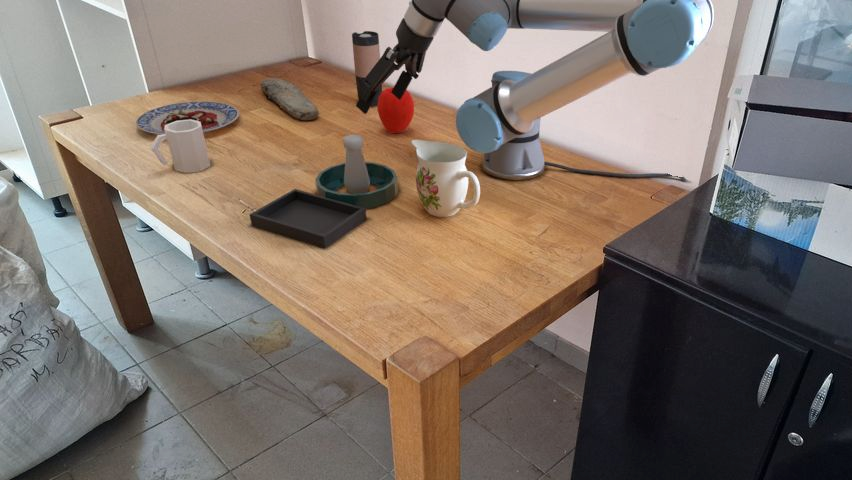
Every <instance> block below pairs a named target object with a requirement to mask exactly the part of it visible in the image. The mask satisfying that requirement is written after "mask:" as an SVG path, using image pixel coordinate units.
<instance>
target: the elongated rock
mask: <svg viewBox="0 0 852 480" xmlns="http://www.w3.org/2000/svg"><path fill="white" fill-rule="evenodd" d="M260 87H261V90H262V92H264V94H266V95H267V96H268V100H271V101H273V102H274V103H276V104H278V106H279V107H280V108H282V109H283V110H284V111H286V112H287V113H288V114H289V115H290V116H291V117H292V118H293V117H294V118H295V119H298V120H300V121H313V120H317V119H318V117H319V116H318V115H319V110H318V107H317V105H316V104H314V103H313V102H312V100H311V99H309V98H308V96H306V95H305V94H304V93H303V92H302V90H301V88H300V87H299V86H296V85H295V84H294V83H291V82H289V81H286V80H284V79H281V78H276V77H275V78H274V77H273V78H272V77H271V78H266V79H263V80H261V82H260Z"/></svg>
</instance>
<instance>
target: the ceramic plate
mask: <svg viewBox="0 0 852 480" xmlns="http://www.w3.org/2000/svg"><path fill="white" fill-rule="evenodd" d="M239 116H240V111H239V110H238V108H236V107H235V106H233V105H231V104H229V103H228V104H227V103H223V102H219V101H208V100H207V101H206V100H205V101H204V100H203V101H201V100H200V101H183V102H178V103H177V102H176V103H171V104H167V105H162V106H159V107H155V108H153V109H150V110H148V111H146V112H144V113H143V114H141V115H140V116H139V117H137V119H136V122H135V124H136V127H137V128H138V129H139V130H141V131H143V132H144V133H145V132H146V133H148V134H153V135H162V134H165V131H164V128H165V125H167V124H169V123H172V122H175V121H179V120H195V121H199V122H201V126H202V130H203V134H204V133H208V132H211V131H212V132H213V131H216V130H219V129H223V128H224V127H227V126H229V125H231V124H233V123H234V122H235V121H236V120H237V119H239Z"/></svg>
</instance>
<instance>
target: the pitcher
mask: <svg viewBox="0 0 852 480" xmlns="http://www.w3.org/2000/svg"><path fill="white" fill-rule="evenodd" d="M411 145H412V146H413V148H415V150H416V152H415V153H416V159H417V161H418V165H417V168H416V171H415V172H416V173H415V174H416V175H415V187H416V191H417V195H418V198H419V200H420V203H421V205H422V206H423V208H424V209H425V210H426V211H427V213H428V214H429V215H431V216H433V217H437V218H438V217H439V218H447V217H452V216H454V215H456V214H457V213H458V212H459V211H460V209H462V210H468V209H471V208H474V207H475V206H476V205H477V204H478V203H479V200H480V197H481V185H480V181H479V179H478V177H477V175H476V174H475V173H473V171H470V170H468V169H467V166H466V160H467V156H468V155H467V154H468V152H467V150H466V148H464V147H462V146H461V145H458V144H456V143H455V144H454V143H451V142H443V141H431V140H425V139H417V138H416V139H412V140H411ZM469 181H471V183H472V186H473V187H472V188H473V196H472V199H471V200H470V201H467V202H465V200H466V198H467V193H468V189H469Z"/></svg>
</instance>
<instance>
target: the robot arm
mask: <svg viewBox="0 0 852 480" xmlns="http://www.w3.org/2000/svg"><path fill="white" fill-rule="evenodd" d="M714 9H715V8H714V5H713V2H712V0H410V1H408V7H407V9H406V11H405V13H404V15H403V17H402V19H401V21H400V22H399V25H398V26H397V28H396V31H395V35H396V36H395V37H396V38H397V39H396V40H397V43H396V45H395V46H394V47H393V48H392V47H390V46H387V47H386V49H385V50H384V52H383V54H382V56H380V59H379V61H378V62H377V63H376V65H375V66H374V67H373V68H372V70H371V71H370V72H369V74H368V75H367V76H366V77H365V79H364V80H363V81H362V83H361V84H362V85H363V86H364V87H365V89H364V91H363V93H362V95H361V97H360V99H359V101H357V103H356V108H357V109H358V110H359V111H361V113H362V114H364V115H367V114H368V112H369V110H370V108H371V107H370V106H371V104H372V102H373V100H374V98H375V97H376V95H377V93H378V91H377V89H378V88H379V87H380V86H381V85H382V86H383V84H384V83H385V82H386V81H387V80H388V79H389V77H390V76H391V75H393V73H394V72H395V71H400V69H401V68H402V67H403V66H404V68H405V69H404V70H402V71H401V72H400V75H399V76H398V79H397V80H396V82H395V84H394V86H393V87H392V88H393V90H392V91H391V93H393V94H394V95H395V96H396V97H397V98H398V99H399V100H400V99H401V98H402V96H403V95H404V93H405V91H406V90H407V89H408V87H409V86H410V84H411V82H412V80H413V79H414V80H417V79H418V78H419V76H420V75H419V74H420V73H421V72H422V70H423V66H424V62H425V59H426V58H425V57H426V54H427V51H428V49H429V47H430V46H431V44H432V42H433V40H434V37H436V35H437V34H438V32H439V30H440V28H441V27H442V24H443V22H444V20H447V21H448V22H449V23H451V25H453V26H454V27H455V28H456V29H457V30H458V31H459V32H460V33H461V34H462V35H463V36H464V37H466V38H467V39H468V40H469V42H470V43H472V44H473V45H475V46H476V47H477V48H479V49H480V50H481V51H483V52H490V51H492V50H493V49H494V48H495V47H497V45H498V44H500V42H501V41H502V39H503V38H504V36H505V35H506V32H507V31H508V30H509V29H515V30H517V29H518V30H521V29H522V30H549V31H550V30H551V31H575V32H597V33H598V32H600V33H601V32H602V33H604V34H603V35H600V36H598V37H597V38H595V39H593V40H591V41H589V42H588V43H586V44H584V45H582V46H580V47H578V48H576V49H575V50H573V51H571V52H570V53H567V54H566V55H564V56H562V57H560V58H559V59H556V60H554V61H553V62H551V63H549V64H547V65H545V66H544V67H542V68H540V69H538V70H536V71H534V72H532V73H531V72H526V71H518V70H498V71H495V72H493V73H492V76H491V79H490V82H491V87H489V88H487V89H486V90H484V91H482V92H479V94H477V95H475V96H473V97H471V98H467V99H466V100H465V101H464V103H462V104H461V105H460V106H459V108H458V109H457V111H456V112H457V113H456V116H455V126H456V130H457V131H456V132H457V133H458V136H459V138H460V139H461V141H462V142H463V143H464V145H465V146H466V147H467V148H469V149H470V150H473V151H475V152H476V153H479V154H483V157H482V170H483V171H484V172H485V173H486V174H488V175H489V176H492V177H494V178H496V179H502V180H506V181H526V180H531V179H534V178H537V177H539V176H541V175H542V174H543V173H544V172H545V167H546V166H547V167H553V168H558V169H562V170H565V171H569V172H574V173H579V174H585V175H586V174H587V175H596V176H597V175H598V176H608V177H617V178H655V177H656V178H658V177H659V178H667V177H670V178H671V177H672V178H673V177H675V178H678V179H680V180H682V181H683V182H685V183H687V182H688V180H687V179H686V177H685V176H683V177H678V176H672V175H670V174H668V172H667V173H666V172H665V173H661V172H660V173H659V172H657V173H656V172H653V173H652V172H651V173H650V172H649V173H622V172H621V173H620V172H609V171H599V170H589V169H580V168H576V167H575V168H574V167H570V166H566V165H562V164H558V163H553V162H548V161H545V157H544V152H543V149H542V146H541V145H542V144H541V141H540V131H541V118H542V117H543V118H544V117H545V116H547V115H549V114H551V113H553V112H555V111H557V110H559V109H561V108H563V107H565V106H567V105H569V104H571V103H574V102H575V101H577V100H579V99H581V98H584V97H586V96H587V95H590V94H592V93H594V92H596V91H598V90H600V89H602V88H604V87H606V86H608V85H610V84H612V83H614V82H616V81H619V80H620V79H623V78H624V77H627V76H629V75H631V74H634V75H636V76H638V77H641V78H642V77H646V76H648V75H650V74H652V73H654V72H656V71H658V70H661V69H667V68H669V67H670V68H671V67H674V66H676V65H678V64H680V63H682V62H683V61H685V60H686V59H687V58H688V57H690V55H692V53H693V52H694V51H695V50H696V48H697V47H698V46H699V45H700V44H701V43H702V42H703V41H704V40H705V39H706V38H707V36H708V35H709V33H710V31H711V29H712V27H713V24H714V19H715V10H714Z"/></svg>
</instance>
